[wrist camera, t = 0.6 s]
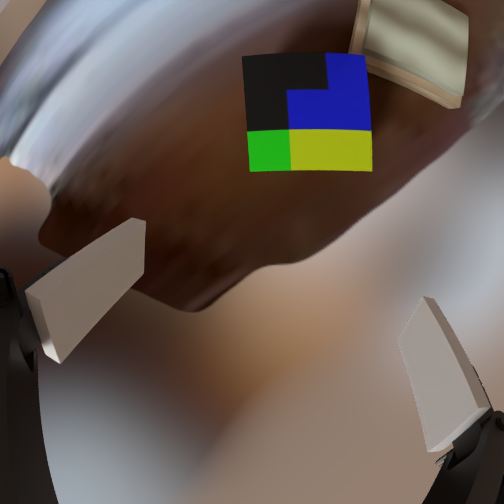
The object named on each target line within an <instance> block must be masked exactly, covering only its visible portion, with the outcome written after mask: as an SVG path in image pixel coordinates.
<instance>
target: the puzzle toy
mask: <svg viewBox="0 0 504 504" xmlns="http://www.w3.org/2000/svg"><path fill="white" fill-rule="evenodd" d="M242 65H243V79H244V92H245V106H246V120H247V134H248V148H249V162H250V172H253V171H280V170H352V171H372V135H371V114H370V99H369V87H368V77H367V68H366V60H365V55H357V54H343V53H277V54H263V55H252V56H242Z"/></svg>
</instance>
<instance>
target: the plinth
mask: <svg viewBox="0 0 504 504" xmlns="http://www.w3.org/2000/svg"><path fill="white" fill-rule="evenodd" d="M348 54H357V55H365V60H366V68H367V72H369V73H372V74H374V75H377V76H380V77H382V78H385V79H387V80H390V81H392V82H394V83H397V84H399V85H401V86H404V87H406V88H408V89H410V90H412V91H415V92H417V93H419V94H421V95H423V96H425V97H427V98H429V99H431V100H433V101H435V102H436V103H438V104H440V105H442V106H444V107H446V108H447V109H452V108H460V104H461V98H462V95H463V93H464V86H465V77H466V67H467V55H468V16H466V15H465V14H463V13H462V12H460V11H458V10H457V9H455V8H453V7H452V6H450V5H448V4H447V3H445V2H443V1H441V0H359V1H358V7H357V12H356V18H355V23H354V28H353V33H352V38H351V43H350V47H349V52H348Z"/></svg>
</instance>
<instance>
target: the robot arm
mask: <svg viewBox="0 0 504 504" xmlns="http://www.w3.org/2000/svg"><path fill="white" fill-rule="evenodd" d="M145 228H146V221H143V220H139V219H135V218H131V219H129V220H127V221H126V222H124V223H122V224H121V225H119V226H117V227H116V228H114V229H113V230H111V231H109V232H108V233H106V234H105V235H103V236H101V237H100V238H98V239H97V240H95V241H94V242H92V243H91V244H89V245H88V246H86V247H85V248H83V249H82V250H80V251H79V252H77V253H76V254H74V255H73V256H71V257H66V258H63V259H61V260H58V261H56V262H55V263H53V264H52V265H50V266H49V267H48V269H47V268H46V269H45V270H43V271H42V272H41V274H38V275H36V276H35V277H34V278H32V279H31V280H30V281H28V282H27V283H26V284H24V285H23V286H22V287H21V288H19V289H18V290H16V287H15V283H14V279H13V275H12V272H11V270H10V269H9V268H7V267H0V504H58V500H57V497H56V494H55V490H54V486H53V483H52V479H51V474H50V470H49V466H48V461H47V456H46V451H45V445H44V438H43V431H42V424H41V416H40V404H39V388H38V353H37V349H36V348H37V346H38V345H39V344H40V343H41V344H42V346H43V349H44V351H45V354H46V355H48V356H49V357H50V358H52V359H54V360H55V361H57V362H58V363H62V362H63V360H64V359H65V358H66V357H67V356H68V355H69V353H70V352H71V351H72V350H73V349H74V347H75V346H76V345H77V344H78V343H79V342H80V341H81V340H82V338H83V337H84V336H85V335H86V334H87V333H88V332H89V331H90V329H91V328H92V327H93V326H94V325H95V324H96V323H97V322H98V321H99V320H100V319H101V317H102V316H103V315H104V314H105V313H106V312H107V311H108V310H109V309H110V308H111V307H112V306H113V305H114V304H115V302H116V301H117V300H118V299H119V298H120V297H121V296H122V295H123V294H124V293H125V292H126V291H127V290H128V289H129V288H130V287H131V286H132V285H133V284H134V283H135V282H136V281H137V280H138V279H139V278H140V277H141V276H142V275H143V274H144V247H145ZM397 342H398V345H399V348H400V351H401V354H402V357H403V360H404V363H405V366H406V370H407V373H408V376H409V379H410V383H411V386H412V390H413V393H414V397H415V400H416V404H417V408H418V412H419V416H420V420H421V423H422V428H423V433H424V437H425V442H426V447H427V452H434V451H441V450H443V449H444V448H446V447H447V446H448V445H449V444H450V443H453V447H454V448H453V449H451V450H450V451H449V452H447V453H446V454H445V455H444V456H442V457H441V458H439V459H438V460H437V461H436V462H435V464H438V463H439V462H441V461H442V460H444V463H442V464H441V465H440V466H439V467H440V468H441V469H440V471H439V473H438V475H437V477H436V479H435V481H434V483H433V485H432V487H431V489H430V491H429V492H428V494H427V496H426V498H425V499H424V501H423V503H422V504H504V413H503V412H501V411H495V412H494V410H493V408H492V406H491V403H490V401H489V398H488V396H487V394H486V392H485V389H484V387H483V386H482V383H481V381H480V379H478V378H479V377H478V374H477V372H476V370H475V369H474V367H473V366H472V365H471V363H470V361H469V359H468V357H467V355H466V353H465V351H464V349H463V348H462V346H461V344H460V342H459V340H458V338H457V337H456V335H455V333H454V331H453V329H452V328H451V326H450V324H449V323H448V321H447V319H446V318H445V316H444V315H443V313H442V311H441V309H440V308H439V306H438V305H437V303H436V301H435V300H434V299H432V298H428V297H425V296H422V298H421V299H420V301H419V303H418V305H417V307H416V308H415V310H414V312H413V314H412V316H411V317H410V319H409V321H408V322H407V324H406V326H405V327H404V329H403V331H402V332H401V334H400V335H399V337H398V339H397Z"/></svg>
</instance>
